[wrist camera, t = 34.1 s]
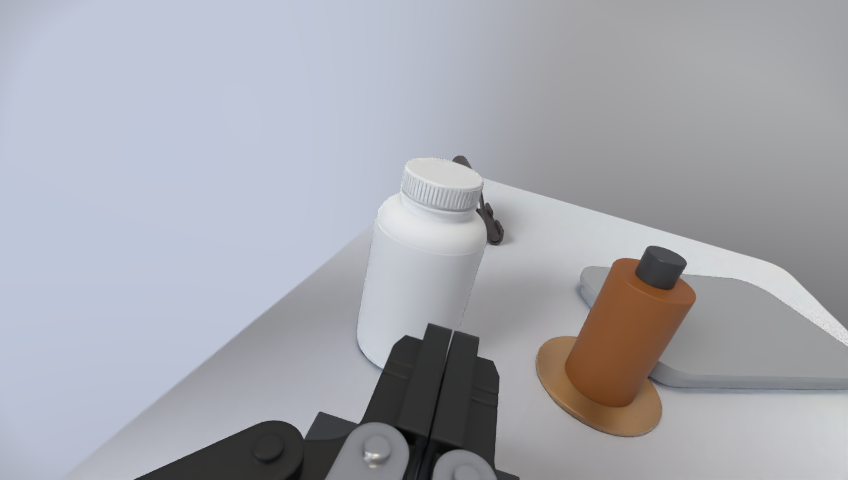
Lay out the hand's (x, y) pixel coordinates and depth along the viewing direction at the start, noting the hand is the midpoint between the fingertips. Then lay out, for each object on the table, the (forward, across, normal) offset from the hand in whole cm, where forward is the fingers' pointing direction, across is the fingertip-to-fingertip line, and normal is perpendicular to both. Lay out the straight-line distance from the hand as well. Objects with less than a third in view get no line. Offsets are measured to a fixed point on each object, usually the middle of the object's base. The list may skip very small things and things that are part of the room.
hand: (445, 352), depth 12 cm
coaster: (+19, -13, +15) cm, 27 cm away
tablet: (+32, -27, +15) cm, 44 cm away
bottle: (+19, -13, +15) cm, 27 cm away
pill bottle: (+17, +3, +15) cm, 23 cm away
